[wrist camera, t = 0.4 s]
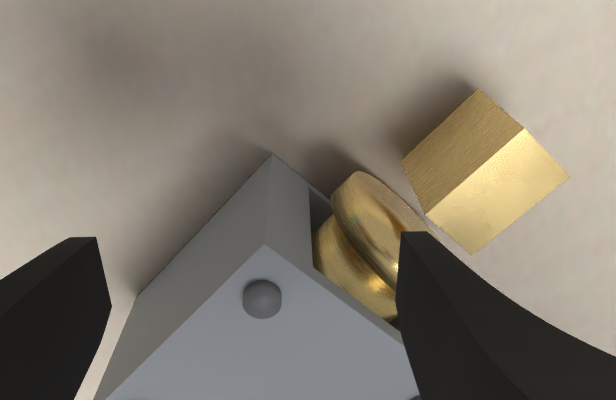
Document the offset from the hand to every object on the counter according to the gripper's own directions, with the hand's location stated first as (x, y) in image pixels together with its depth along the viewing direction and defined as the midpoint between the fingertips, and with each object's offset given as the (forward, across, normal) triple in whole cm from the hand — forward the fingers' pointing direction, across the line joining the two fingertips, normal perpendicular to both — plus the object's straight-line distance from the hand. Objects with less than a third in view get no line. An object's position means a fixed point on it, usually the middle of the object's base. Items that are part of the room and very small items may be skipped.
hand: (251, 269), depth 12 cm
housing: (+10, 0, +8) cm, 13 cm away
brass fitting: (+10, -4, +4) cm, 11 cm away
